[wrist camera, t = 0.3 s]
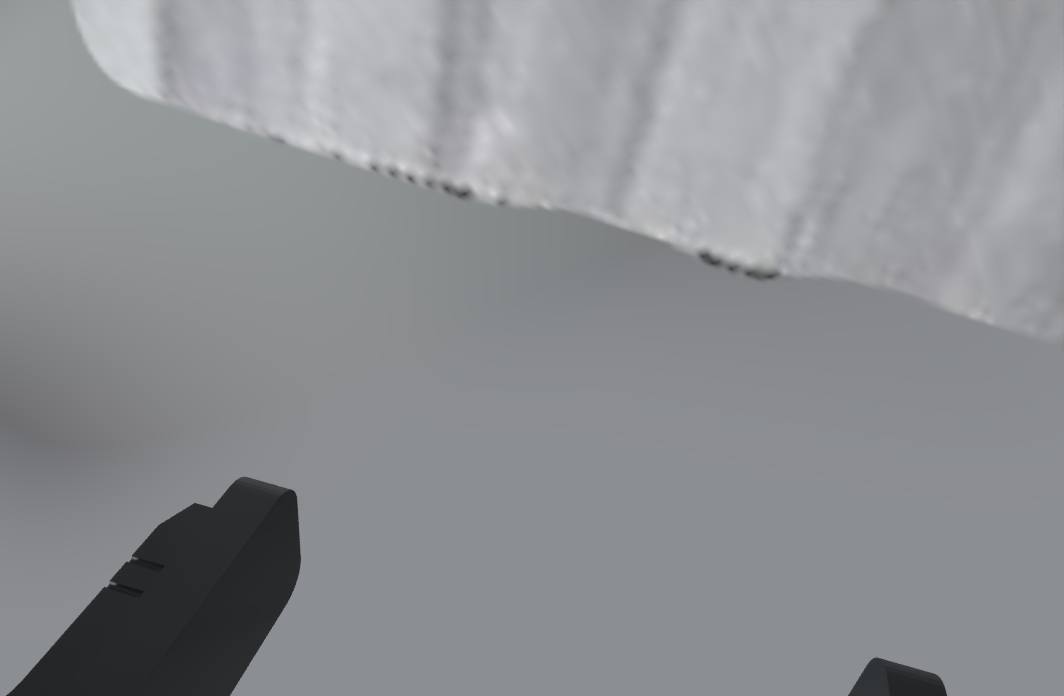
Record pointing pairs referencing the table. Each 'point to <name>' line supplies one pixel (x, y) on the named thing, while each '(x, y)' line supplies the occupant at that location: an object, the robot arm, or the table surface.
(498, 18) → the table surface
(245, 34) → the table surface
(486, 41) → the table surface
